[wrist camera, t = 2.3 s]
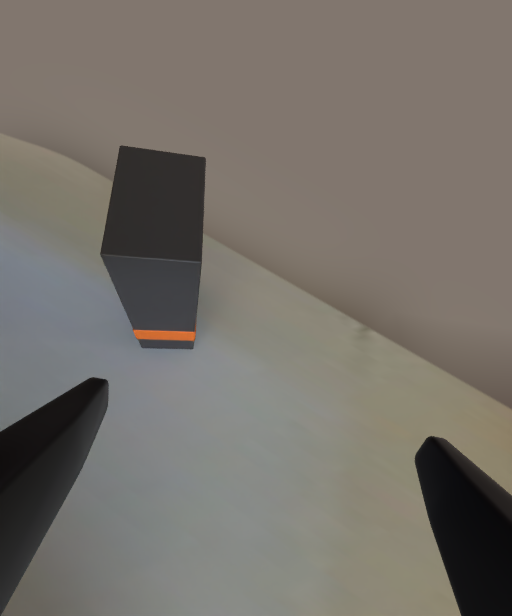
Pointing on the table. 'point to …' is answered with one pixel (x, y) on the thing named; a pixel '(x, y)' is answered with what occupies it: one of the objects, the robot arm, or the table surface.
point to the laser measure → (157, 243)
